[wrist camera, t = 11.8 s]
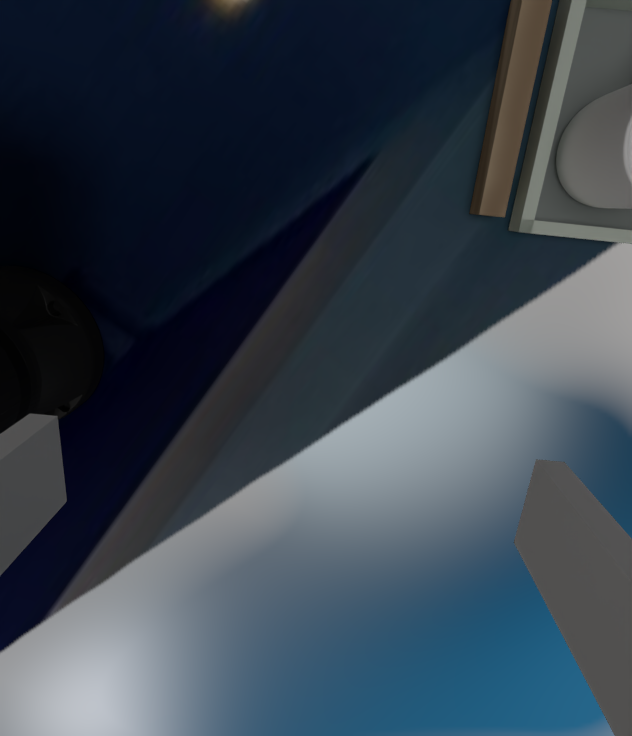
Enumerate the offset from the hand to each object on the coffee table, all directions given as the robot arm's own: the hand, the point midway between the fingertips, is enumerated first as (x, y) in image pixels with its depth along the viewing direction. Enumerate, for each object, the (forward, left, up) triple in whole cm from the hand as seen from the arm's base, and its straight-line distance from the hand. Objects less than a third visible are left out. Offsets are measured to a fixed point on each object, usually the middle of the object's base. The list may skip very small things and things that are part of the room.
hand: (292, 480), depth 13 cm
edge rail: (+12, +15, -31) cm, 37 cm away
